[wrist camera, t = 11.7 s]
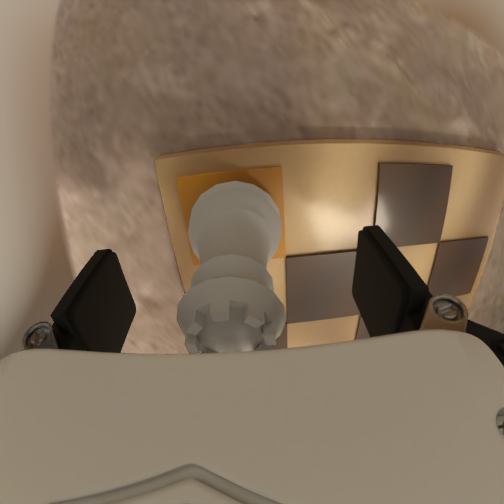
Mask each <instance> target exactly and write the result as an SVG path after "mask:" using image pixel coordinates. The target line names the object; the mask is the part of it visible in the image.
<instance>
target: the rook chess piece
mask: <svg viewBox="0 0 504 504" xmlns="http://www.w3.org/2000/svg"><path fill="white" fill-rule="evenodd" d="M188 236H189V239H190V243H191V246H192V249H193V252H194V254H195V255H196V256H197V257H198V259H199V260H200V266H199V268H198V269H197V271H196V272H195V273H194V275H193V276H192V282H191V289H189V290H188V291H187V292H186V294H185V295H184V296H183V298H182V299H181V301H180V302H179V303H178V309H177V322H178V324H179V326H180V328H181V330H182V332H183V334H184V335H185V337H186V339H185V346H186V348H187V350H188V352H189V354H198V353H199V350H200V351H201V352H202V354H203V353H229V352H246V351H260V350H271V345H276V339H277V338H278V337H279V336H280V334H281V332H282V330H283V327H284V325H285V322H286V316H285V309H284V305H283V303H282V302H281V301H280V299H279V298H278V297H277V296H276V294H275V293H274V286H273V280H272V276H271V275H270V274H269V272H268V271H267V263H268V262H269V261H270V260H271V258H272V257H273V256H274V255H275V254H276V252H277V249H278V245H279V242H280V239H281V236H282V230H281V220H280V213H279V209H278V207H277V205H276V204H275V202H274V201H273V199H272V198H271V196H270V195H269V194H268V193H266V192H265V191H263V190H262V189H260V188H259V187H257V186H256V185H254V184H249V183H244V182H239V181H231V182H226V183H221V184H216V185H215V186H213V187H212V188H210V189H208V190H207V191H205V192H204V193H202V194H201V195H200V197H199V198H198V200H197V201H196V203H195V205H194V206H193V208H192V210H191V216H190V222H189V229H188Z"/></svg>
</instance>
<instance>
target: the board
mask: <svg viewBox="0 0 504 504" xmlns="http://www.w3.org/2000/svg"><path fill="white" fill-rule="evenodd" d="M155 166H156V172H157V177H158V182H159V187H160V192H161V197H162V201H163V206H164V210H165V215H166V219H167V224H168V228H169V232H170V237H171V241H172V245H173V249H174V253H175V257H176V261H177V265H178V269H179V272H180V276H181V280H182V284H183V287H184V291H185V294H186V292H187V291H188V290H189V289H191V282H192V276H193V275H194V273H195V272H196V271H197V269H198V268H199V266H200V260H199V259H198V257H197V256H196V255H195V254H194V252H193V249H192V246H191V243H190V239H189V236H188V229H189V222H190V216H191V210H192V208H193V206H194V205H195V203H196V201H197V200H198V198H199V197H200V195H201V194H202V193H204V192H205V191H207V190H208V189H210V188H212V187H213V186H215V185H216V184H221V183H226V182H231V181H239V182H244V183H249V184H254V185H256V186H257V187H259V188H260V189H262V190H263V191H265V192H266V193H268V194H269V195H270V196H271V198H272V199H273V201H274V202H275V204H276V205H277V207H278V209H279V213H280V220H281V230H282V236H281V239H280V242H279V245H278V249H277V252H276V254H275V255H274V256H273V257H272V258H271V260H270V261H269V262H268V263H267V271H268V272H269V274H270V275H271V276H272V280H273V286H274V293H275V294H276V296H277V297H278V298H279V299H280V301H281V302H282V303H283V305H284V309H285V316H286V322H285V325H284V327H283V330H282V332H281V334H280V336H279V337H278V338H277V339H276V345H271V350H273V349H284V348H294V347H303V346H312V345H321V344H329V343H336V342H343V341H350V340H357V339H363V338H369V337H370V336H369V333H368V331H367V328H366V326H365V324H364V321H363V319H362V317H361V314H360V312H359V310H358V307H357V305H356V303H355V301H354V298H353V295H352V284H353V276H354V268H355V260H356V251H357V241H358V233H359V231H360V230H363V227H364V226H376V225H378V226H380V227H381V229H382V230H383V231H384V232H385V233H386V234H387V236H388V237H389V238H390V239H391V240H392V242H393V243H394V244H395V245H396V246H397V248H398V249H399V250H400V251H401V253H402V254H403V255H404V256H405V258H406V259H407V260H408V261H409V263H410V264H411V265H412V267H413V268H414V269H415V270H416V272H417V273H418V274H419V276H420V277H421V278H422V280H423V281H424V282H425V284H426V285H427V286H428V288H429V292H430V293H431V294H432V296H434V295H437V294H448V295H452V296H454V297H457V298H458V299H460V300H461V301H462V302H463V303H464V304H465V305H466V307H467V310H469V308H470V306H471V303H472V301H473V298H474V296H475V293H476V291H477V288H478V286H479V283H480V280H481V278H482V275H483V272H484V269H485V266H486V263H487V260H488V257H489V254H490V251H491V248H492V244H493V241H494V237H495V234H496V230H497V226H498V222H499V218H500V214H501V210H502V205H503V200H504V153H501V152H498V151H492V150H486V149H479V148H473V147H465V146H457V145H448V144H439V143H428V142H415V141H399V140H374V139H318V140H292V141H275V142H262V143H250V144H239V145H230V146H221V147H212V148H205V149H197V150H190V151H184V152H177V153H171V154H165V155H161V156H159V157H158V158H157V159H156V160H155Z"/></svg>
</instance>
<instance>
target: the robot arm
mask: <svg viewBox="0 0 504 504" xmlns="http://www.w3.org/2000/svg"><path fill="white" fill-rule="evenodd" d="M352 295H353V298H354V301H355V303H356V305H357V307H358V310H359V312H360V314H361V317H362V319H363V321H364V324H365V326H366V328H367V331H368V333H369V336H370V337H369V338H363V339H357V340H350V341H343V342H336V343H329V344H321V345H312V346H303V347H294V348H284V349H273V350H260V351H246V352H229V353H203V354H137V353H120V352H121V349H122V347H123V344H124V341H125V339H126V336H127V334H128V331H129V328H130V326H131V323H132V321H133V318H134V316H135V313H136V306H135V303H134V300H133V298H132V295H131V293H130V290H129V288H128V285H127V282H126V280H125V277H124V274H123V271H122V269H121V266H120V263H119V260H118V257H117V255H116V253H115V252H112V250H111V249H105V250H97V251H96V252H95V253H94V255H93V256H92V257H91V258H90V260H89V261H88V262H87V264H86V265H85V266H84V268H83V269H82V270H81V272H80V273H79V275H78V276H77V277H76V279H75V280H74V281H73V283H72V284H71V286H70V287H69V289H68V290H67V291H66V293H65V294H64V296H63V297H62V299H61V300H60V302H59V303H58V305H57V306H56V308H55V309H54V311H53V312H52V314H51V317H52V319H53V321H54V323H53V325H51V324H50V323H49V322H39V323H37V324H35V325H33V326H31V327H30V328H29V329H28V330H27V331H26V333H25V334H24V336H23V338H22V350H21V351H20V352H16V353H13V354H11V355H9V356H7V357H5V358H3V359H2V360H1V361H0V504H504V334H502V333H500V332H497V331H495V330H492V329H490V328H487V327H485V326H483V325H480V324H478V323H475V322H473V321H470V320H468V310H467V307H466V305H465V304H464V303H463V302H462V301H461V300H460V299H458V298H457V297H454V296H452V295H448V294H437V295H434V296H432V294H431V293H430V292H429V288H428V286H427V285H426V284H425V282H424V281H423V280H422V278H421V277H420V276H419V274H418V273H417V272H416V270H415V269H414V268H413V267H412V265H411V264H410V263H409V261H408V260H407V259H406V258H405V256H404V255H403V254H402V253H401V251H400V250H399V249H398V248H397V246H396V245H395V244H394V243H393V242H392V240H391V239H390V238H389V237H388V236H387V234H386V233H385V232H384V231H383V230H382V229H381V227H380V226H378V225H376V226H364V227H363V230H360V231H359V233H358V241H357V251H356V260H355V268H354V276H353V284H352Z"/></svg>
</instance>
